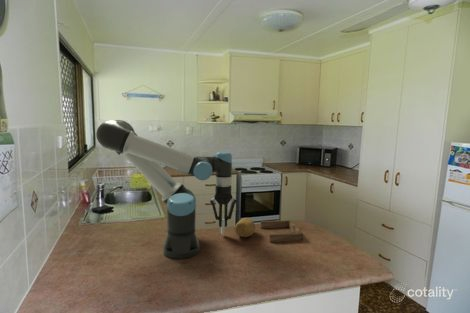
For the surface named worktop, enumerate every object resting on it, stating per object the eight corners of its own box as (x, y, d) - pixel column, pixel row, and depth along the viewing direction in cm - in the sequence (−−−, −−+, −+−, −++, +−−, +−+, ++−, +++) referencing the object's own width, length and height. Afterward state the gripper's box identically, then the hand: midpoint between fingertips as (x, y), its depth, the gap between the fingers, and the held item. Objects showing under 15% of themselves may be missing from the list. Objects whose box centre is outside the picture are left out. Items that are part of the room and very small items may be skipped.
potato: (256, 230, 144) (256, 215, 143) (253, 242, 130) (253, 225, 129) (237, 229, 145) (237, 214, 144) (232, 240, 132) (232, 223, 131)
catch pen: (302, 240, 133) (303, 233, 133) (269, 242, 130) (270, 235, 130) (289, 226, 151) (289, 220, 150) (260, 227, 148) (260, 221, 148)
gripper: (235, 183, 137) (235, 229, 140) (209, 183, 135) (208, 230, 138) (238, 186, 130) (237, 235, 133) (210, 187, 128) (209, 236, 131)
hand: (222, 233), depth 136 cm, fingers closed
